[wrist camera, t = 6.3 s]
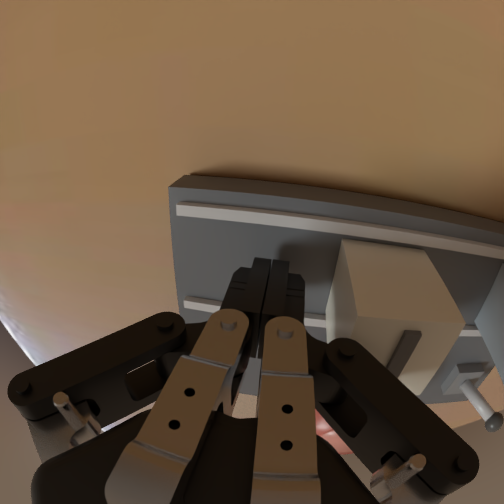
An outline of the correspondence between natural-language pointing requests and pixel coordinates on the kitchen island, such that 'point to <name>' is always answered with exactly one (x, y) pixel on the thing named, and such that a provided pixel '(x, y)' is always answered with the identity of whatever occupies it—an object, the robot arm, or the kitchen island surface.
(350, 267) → the cream fader knob
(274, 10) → the kitchen island surface
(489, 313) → the slate-blue fader knob
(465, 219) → the panel
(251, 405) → the kitchen island surface
